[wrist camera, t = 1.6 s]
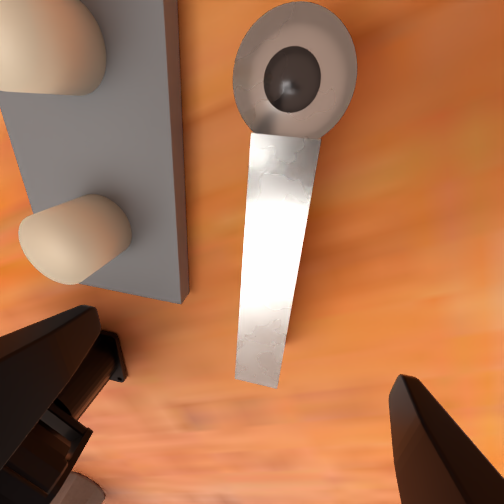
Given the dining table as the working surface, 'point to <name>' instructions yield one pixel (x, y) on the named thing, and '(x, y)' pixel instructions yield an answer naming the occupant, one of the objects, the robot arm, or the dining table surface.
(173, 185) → the tool rack
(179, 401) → the dining table surface
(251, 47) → the spanner
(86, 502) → the coffeepot
